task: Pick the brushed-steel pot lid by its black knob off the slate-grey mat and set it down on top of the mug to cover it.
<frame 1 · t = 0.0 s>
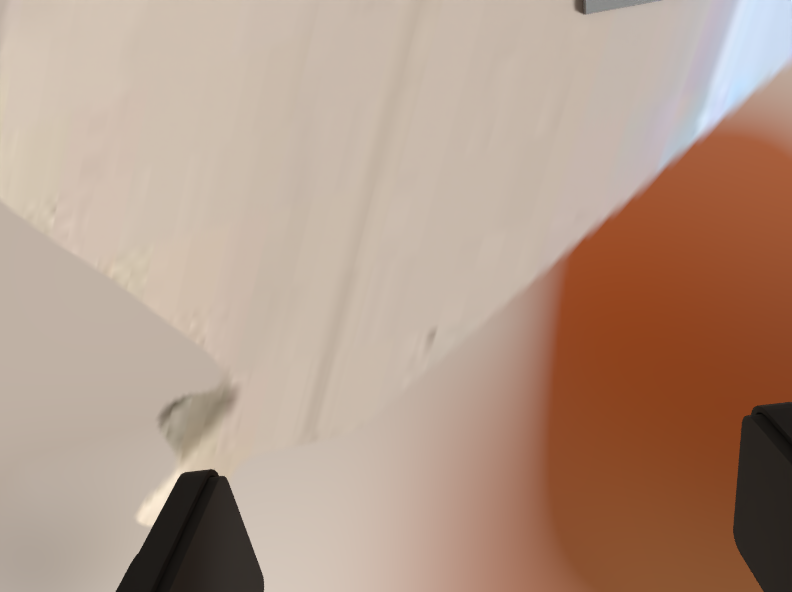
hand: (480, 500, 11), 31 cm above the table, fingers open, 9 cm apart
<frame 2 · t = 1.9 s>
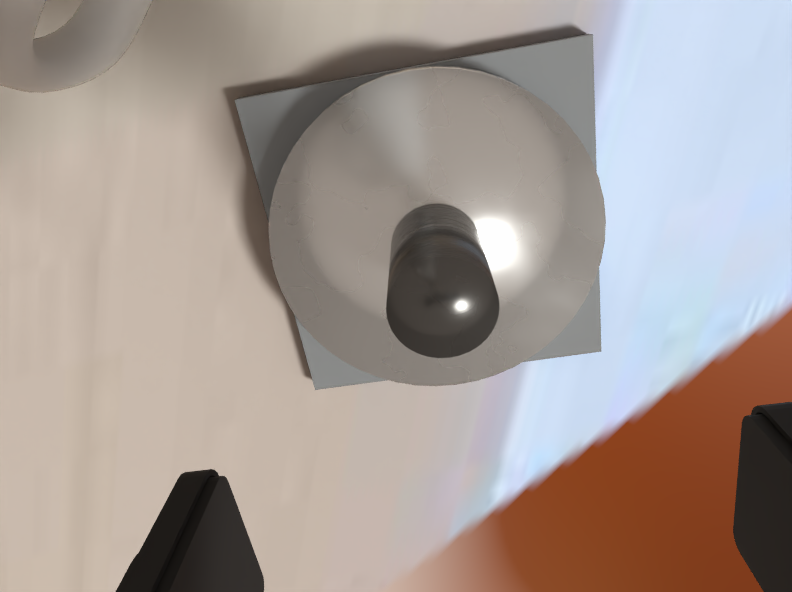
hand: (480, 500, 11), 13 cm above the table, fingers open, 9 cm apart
mat: (433, 231, 23), on the table
lid: (434, 236, 22), point 1 cm above the table, touching mat
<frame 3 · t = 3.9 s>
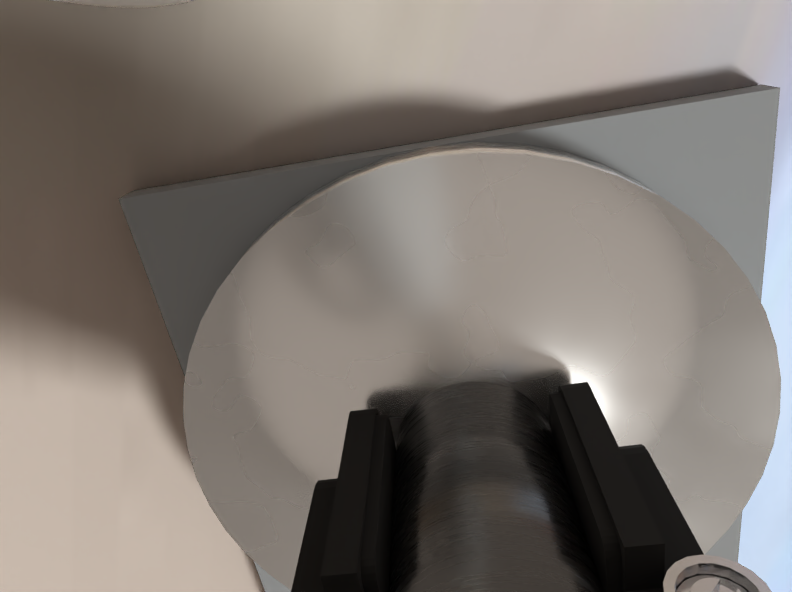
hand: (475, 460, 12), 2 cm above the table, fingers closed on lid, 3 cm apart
mat: (467, 402, 14), on the table
lid: (469, 417, 13), point 1 cm above the table, touching gripper, mat
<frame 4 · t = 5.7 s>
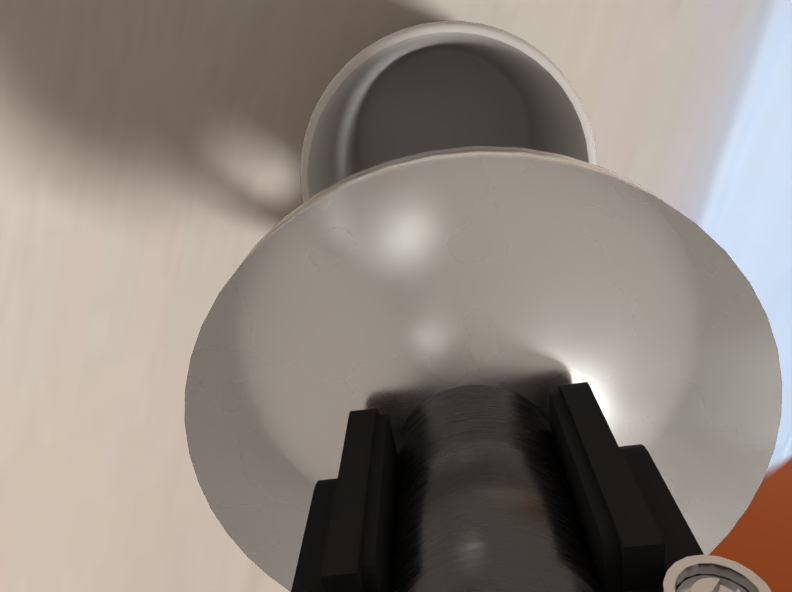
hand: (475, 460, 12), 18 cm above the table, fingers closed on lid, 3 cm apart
lid: (471, 420, 13), point 16 cm above the table, touching gripper
mug: (421, 167, 27), on the table
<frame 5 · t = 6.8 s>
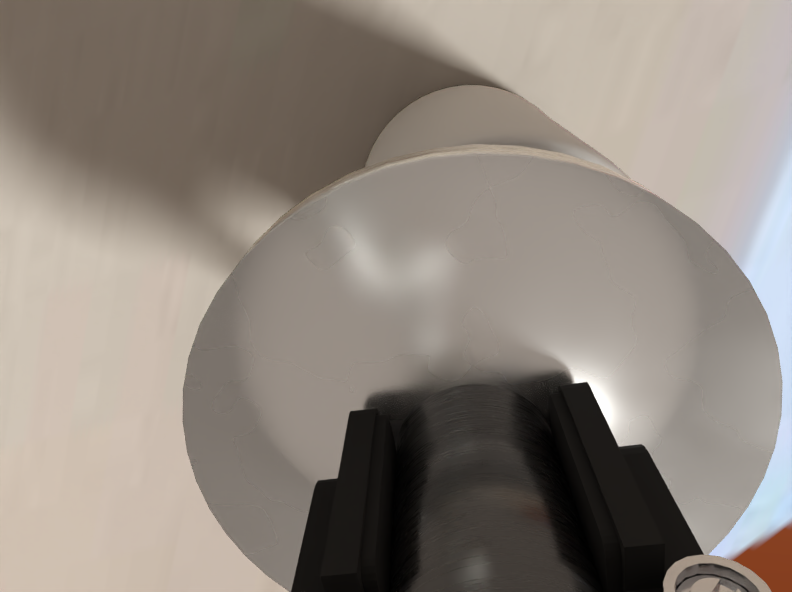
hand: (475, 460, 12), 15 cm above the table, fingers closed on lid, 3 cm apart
lid: (470, 420, 13), point 13 cm above the table, touching gripper
mug: (441, 224, 25), on the table
when the fingers open (14 cm above the table, at t = 7.6 s): lid drops 1 cm, resting on mug.
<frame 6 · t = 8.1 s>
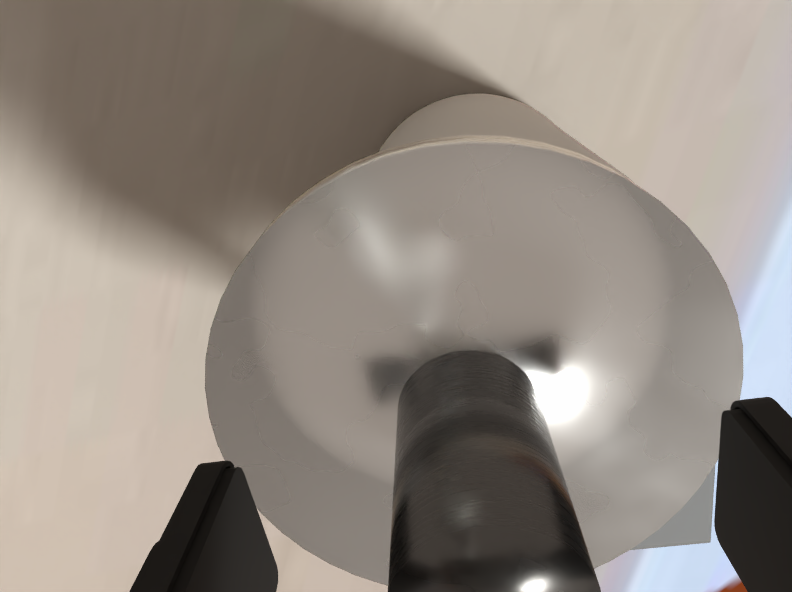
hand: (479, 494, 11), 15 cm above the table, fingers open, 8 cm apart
mat: (581, 454, 29), on the table
lid: (464, 387, 14), point 11 cm above the table, touching mug
mug: (445, 236, 24), on the table, touching lid
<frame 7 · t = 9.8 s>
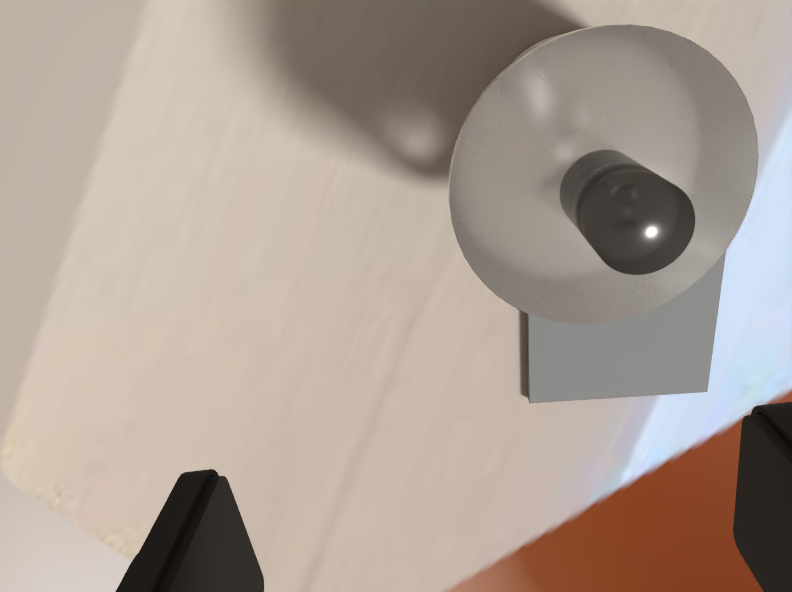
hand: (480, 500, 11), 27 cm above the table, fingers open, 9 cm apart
mat: (619, 316, 39), on the table
lid: (593, 184, 24), point 11 cm above the table, touching mug
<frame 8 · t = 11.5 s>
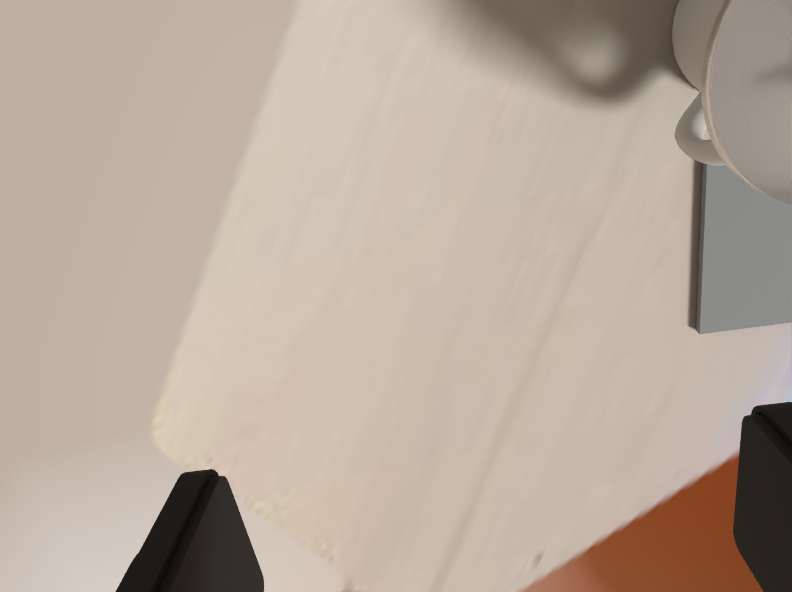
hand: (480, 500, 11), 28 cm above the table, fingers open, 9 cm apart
mug: (723, 47, 33), on the table, touching lid
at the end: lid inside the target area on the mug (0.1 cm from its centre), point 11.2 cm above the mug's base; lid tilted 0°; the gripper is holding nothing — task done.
